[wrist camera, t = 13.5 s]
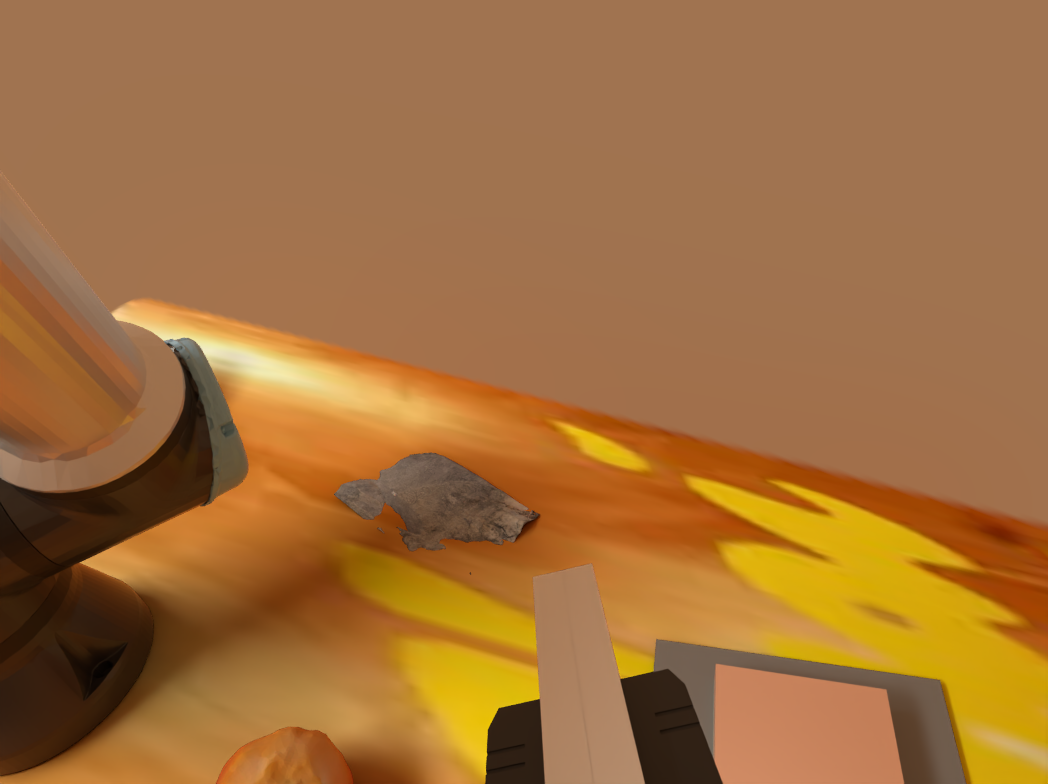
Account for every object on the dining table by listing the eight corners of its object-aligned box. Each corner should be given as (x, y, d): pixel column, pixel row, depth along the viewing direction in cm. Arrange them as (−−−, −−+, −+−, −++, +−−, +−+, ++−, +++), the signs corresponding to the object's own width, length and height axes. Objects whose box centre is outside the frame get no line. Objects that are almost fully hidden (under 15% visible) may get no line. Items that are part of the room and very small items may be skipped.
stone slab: (328, 496, 61) (402, 430, 66) (334, 508, 62) (407, 442, 68) (467, 591, 52) (541, 505, 57) (472, 602, 53) (544, 517, 58)
